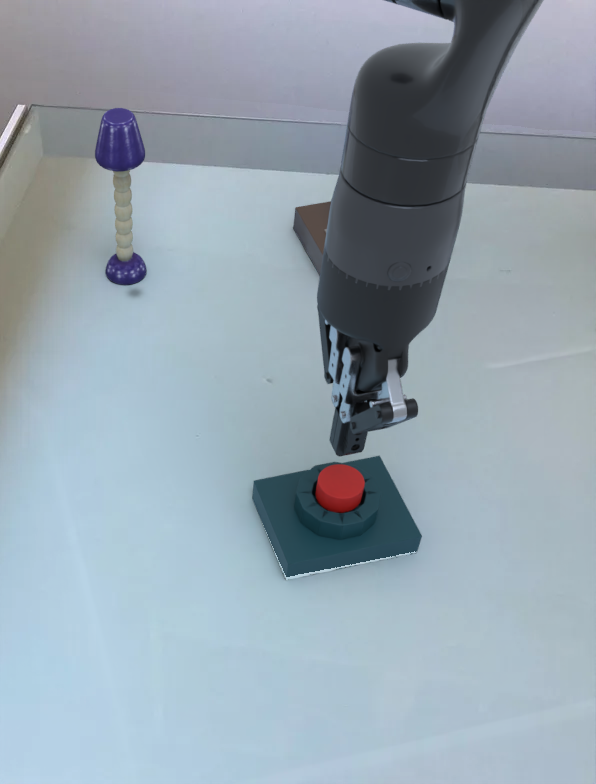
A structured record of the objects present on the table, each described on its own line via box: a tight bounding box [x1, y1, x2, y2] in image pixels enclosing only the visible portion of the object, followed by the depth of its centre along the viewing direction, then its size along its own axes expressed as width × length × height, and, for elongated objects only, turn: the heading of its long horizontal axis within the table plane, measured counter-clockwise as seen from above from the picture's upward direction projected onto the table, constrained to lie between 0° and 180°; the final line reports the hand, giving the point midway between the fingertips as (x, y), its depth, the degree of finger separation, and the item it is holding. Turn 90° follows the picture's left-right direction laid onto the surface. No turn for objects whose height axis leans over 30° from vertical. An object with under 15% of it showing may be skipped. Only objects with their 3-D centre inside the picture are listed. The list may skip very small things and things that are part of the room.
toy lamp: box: [94, 107, 147, 286], centre depth 92 cm, size 5×5×17 cm
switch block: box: [251, 455, 423, 577], centre depth 77 cm, size 11×9×4 cm
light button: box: [315, 464, 365, 513], centre depth 75 cm, size 4×4×2 cm
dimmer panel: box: [292, 200, 331, 276], centre depth 99 cm, size 12×10×3 cm
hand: (345, 447), depth 71 cm, fingers closed
